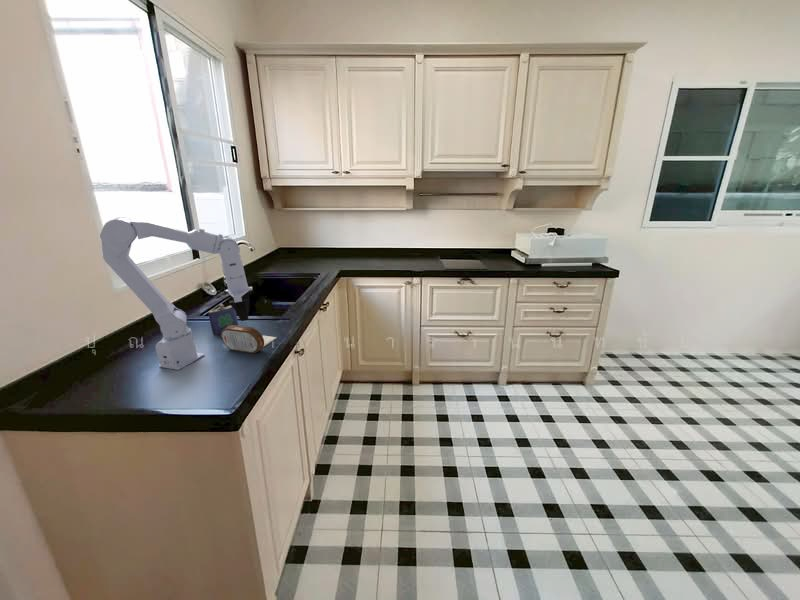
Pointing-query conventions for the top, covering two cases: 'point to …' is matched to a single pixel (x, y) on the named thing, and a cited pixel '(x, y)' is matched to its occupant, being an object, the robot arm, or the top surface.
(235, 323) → the flask
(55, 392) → the top surface
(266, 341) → the mat
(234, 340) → the tin
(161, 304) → the robot arm
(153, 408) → the top surface
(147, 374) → the top surface
